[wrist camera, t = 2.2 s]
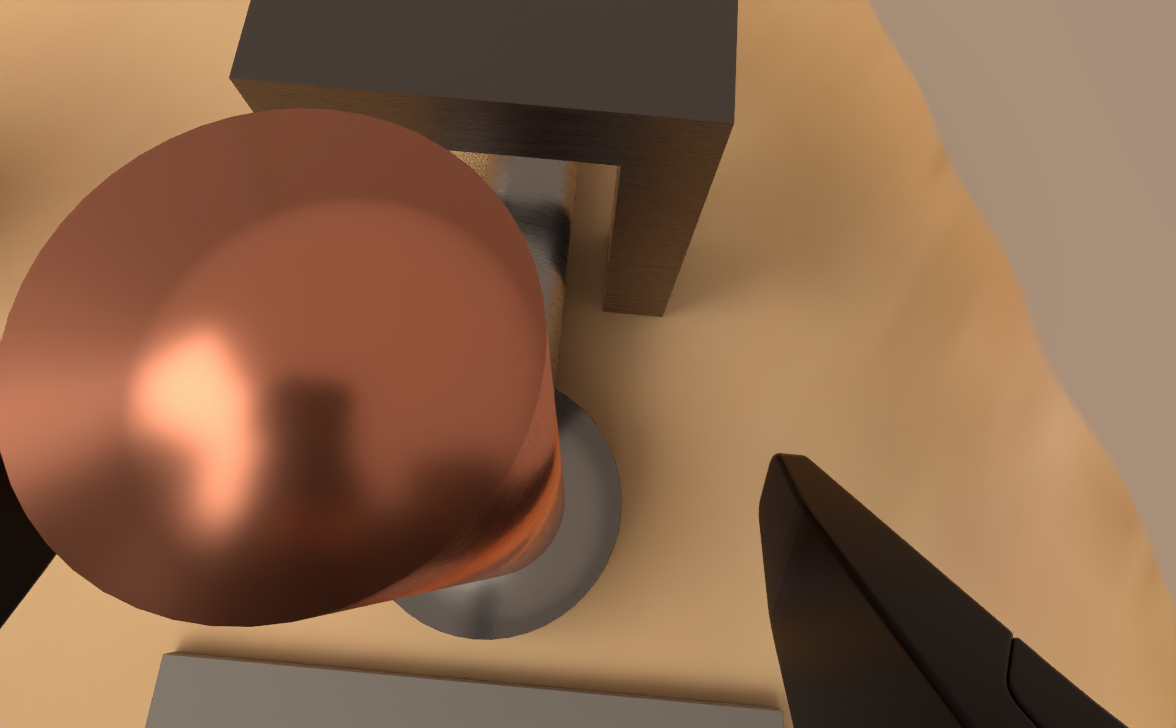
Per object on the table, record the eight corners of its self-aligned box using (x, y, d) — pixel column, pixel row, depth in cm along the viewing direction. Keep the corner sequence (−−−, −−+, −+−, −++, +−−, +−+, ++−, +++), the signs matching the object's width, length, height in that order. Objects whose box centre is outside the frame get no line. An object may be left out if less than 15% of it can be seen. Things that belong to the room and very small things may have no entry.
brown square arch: (662, 316, 18) (734, 122, 10) (380, 291, 18) (229, 77, 10) (667, 236, 19) (738, -6, 11) (395, 211, 19) (264, -49, 11)
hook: (608, 645, 16) (738, 953, 3) (353, 621, 16) (-437, 843, 3) (652, 46, 21) (774, -737, 8) (456, 29, 21) (279, -780, 8)
